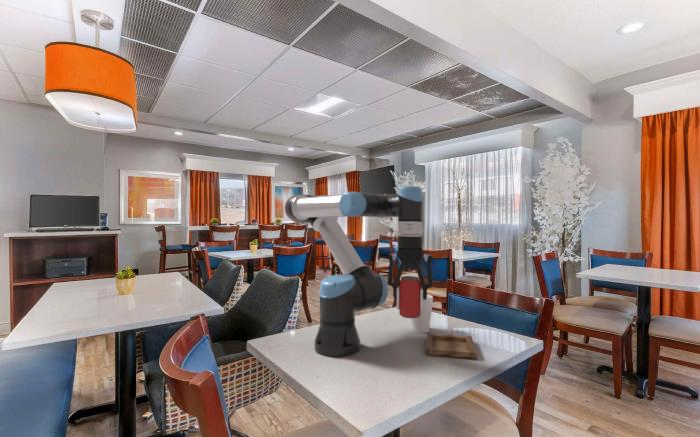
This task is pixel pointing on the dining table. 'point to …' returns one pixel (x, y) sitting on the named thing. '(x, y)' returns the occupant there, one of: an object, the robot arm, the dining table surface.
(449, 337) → the wooden tray
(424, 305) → the foam cup
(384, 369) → the dining table surface
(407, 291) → the beer can
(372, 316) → the dining table surface
